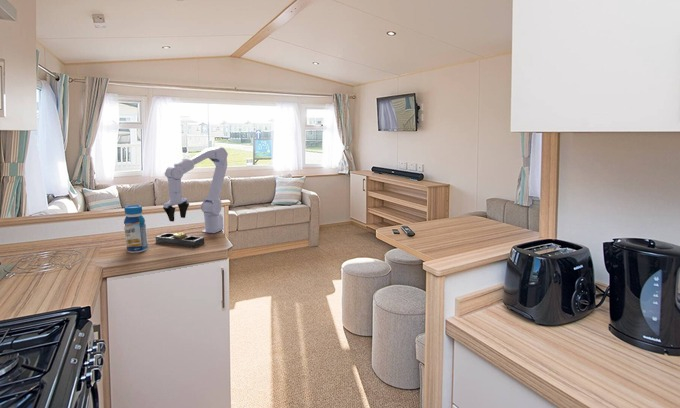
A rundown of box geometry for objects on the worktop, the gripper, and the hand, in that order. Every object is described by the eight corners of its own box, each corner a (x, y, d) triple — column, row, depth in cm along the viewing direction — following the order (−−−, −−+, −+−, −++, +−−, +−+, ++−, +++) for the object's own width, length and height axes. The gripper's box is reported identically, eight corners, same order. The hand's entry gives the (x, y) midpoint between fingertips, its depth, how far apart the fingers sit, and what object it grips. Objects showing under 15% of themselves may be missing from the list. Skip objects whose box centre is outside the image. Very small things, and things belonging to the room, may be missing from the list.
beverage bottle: (151, 249, 174) (147, 205, 170) (133, 254, 167) (128, 209, 163) (141, 246, 178) (137, 203, 174) (122, 250, 171) (118, 206, 167)
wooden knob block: (180, 240, 186) (179, 231, 185) (186, 241, 184) (186, 232, 184) (173, 242, 182) (173, 233, 181) (180, 243, 181) (180, 234, 180)
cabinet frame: (166, 238, 190) (166, 232, 190) (204, 243, 183) (204, 237, 183) (156, 242, 184) (155, 236, 183) (194, 247, 177) (194, 241, 176)
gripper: (179, 188, 193) (181, 215, 196) (157, 193, 179) (159, 222, 182) (191, 189, 191) (192, 216, 193) (169, 194, 177) (171, 223, 180)
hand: (177, 219), depth 188 cm, fingers open, 7 cm apart
